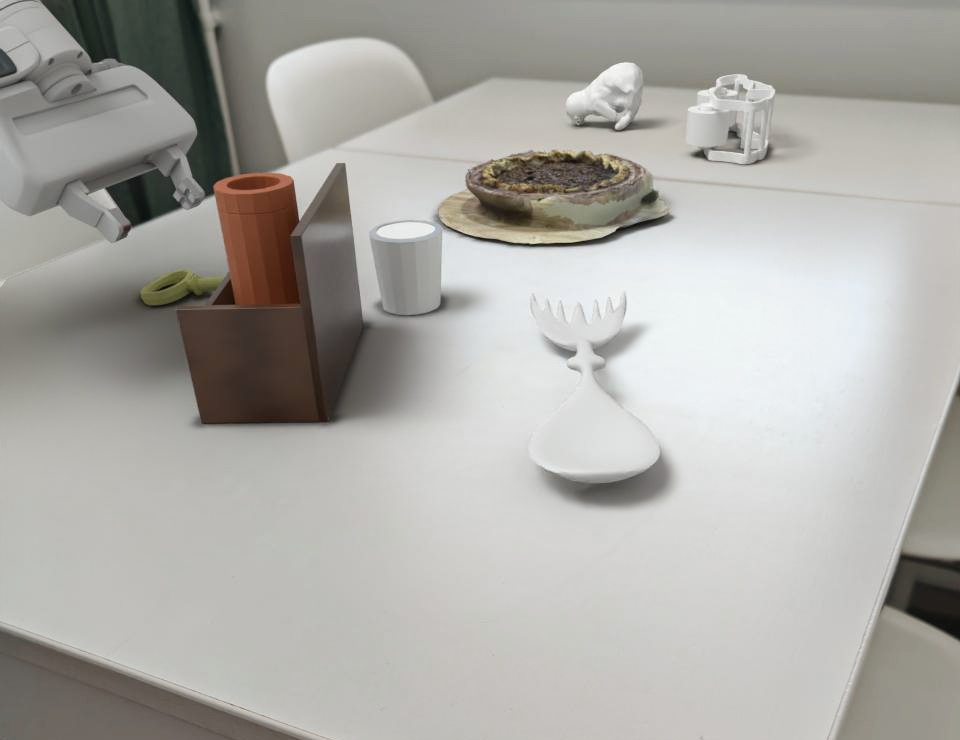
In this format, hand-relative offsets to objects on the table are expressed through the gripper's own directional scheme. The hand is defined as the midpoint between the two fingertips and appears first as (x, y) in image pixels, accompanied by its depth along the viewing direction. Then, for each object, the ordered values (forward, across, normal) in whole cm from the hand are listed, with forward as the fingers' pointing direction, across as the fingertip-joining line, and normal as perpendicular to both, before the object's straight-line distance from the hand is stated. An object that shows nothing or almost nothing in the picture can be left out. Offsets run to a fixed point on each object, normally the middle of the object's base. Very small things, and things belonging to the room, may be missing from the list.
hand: (161, 218), depth 82 cm
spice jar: (+11, 0, +2) cm, 12 cm away
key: (+2, -13, -15) cm, 20 cm away
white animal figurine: (+12, -96, -5) cm, 96 cm away
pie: (+18, -52, +2) cm, 55 cm away
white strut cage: (+27, -88, +11) cm, 93 cm away
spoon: (+34, -3, +17) cm, 38 cm away
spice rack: (+15, 0, -1) cm, 15 cm away
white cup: (+17, -18, +1) cm, 25 cm away
